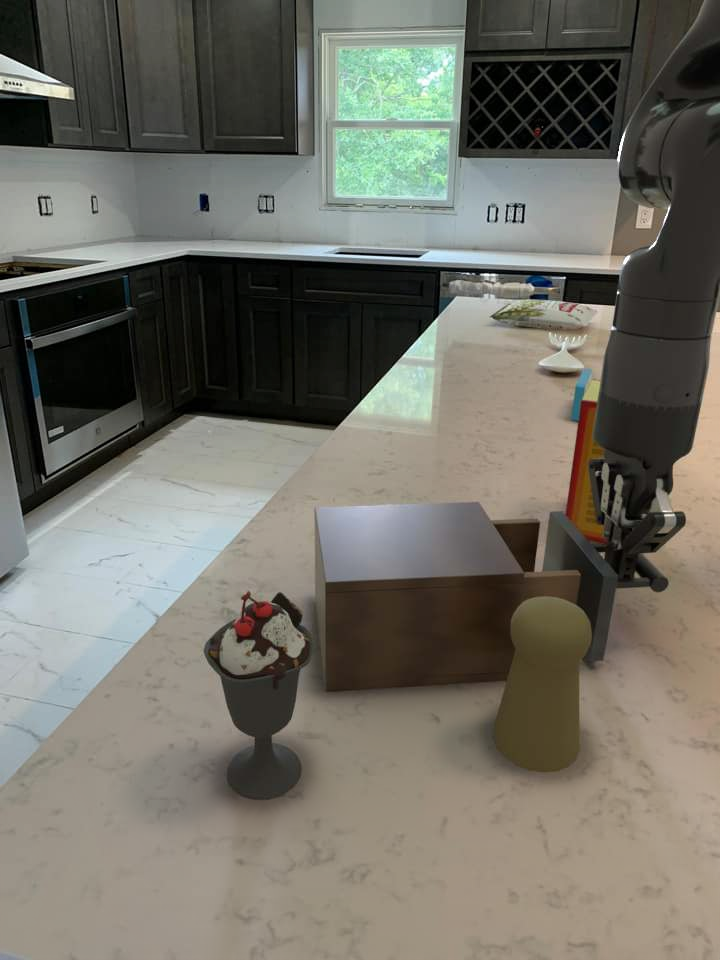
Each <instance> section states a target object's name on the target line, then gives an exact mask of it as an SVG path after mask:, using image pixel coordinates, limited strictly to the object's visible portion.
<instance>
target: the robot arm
mask: <svg viewBox="0 0 720 960" xmlns="http://www.w3.org/2000/svg"><path fill="white" fill-rule="evenodd" d="M617 175H618V176H617V177H618V181H619V185H620V187H621V189H622V191H623V193H624V194H625V196H626V197H627V198H628V199H629V200H631V201H632V202H633V203H635V204H636V205H639V206H641V207H645V208H648V209H656V210H667V213H666V216H665V218H664V221H663V223H662V226H661V229H660V230H659V233H658V235H657V238H656V240H655V242H653V244H650V245H646V246H642V247H639V248H636V249H634V250H633V251H631V252H630V253H628V255H627V256H626V257H625V259H624V261H623V263H622V266H621V270H620V273H619V279H618V284H617V291H616V297H615V304H614V311H613V317H612V323H611V325H612V326H611V329H610V333H609V338H608V340H607V345H606V347H605V351H604V355H603V360H602V367H601V373H600V374H601V375H600V379H599V380H600V387H599V393H598V400H597V407H596V414H595V420H594V427H593V434H592V435H593V439H594V441H595V443H596V444H597V445H598V446H599V447H601V448H602V449H604V457H603V458H599V459H590V460H589V462H588V469H589V476H590V483H591V490H592V497H593V504H594V510H595V517H596V522H597V524H598V525H604V529H603V536H604V539H605V541H607V545H606V551H605V552H604V557H603V558H604V560H605V561H606V562H607V563H608V564H609V565H610V566H611V568H612V569H613V570H614V571H615V572H616V573H617V575H618V579H627V578H635V574H636V572H635V570H636V564H637V559H638V554H639V553H642V554H655V553H657V552H658V551H659V550H661V549H662V548H663V546H665V545H666V544H667V543H668V542H669V541H670V540H671V539H673V537H674V536H676V534H678V533H679V532H680V531H681V530H682V529H683V528H684V527H685V526H686V524H687V516H686V514H685V512H684V511H682V510H680V511H679V510H678V511H677V510H676V511H675V510H673V506H672V504H671V500H670V497H669V496H670V495H671V493H672V491H673V489H674V473H673V472H674V465H675V464H676V462H678V461H679V460H680V459H682V458H684V457H686V456H688V455H689V454H690V452H691V451H692V449H693V446H694V440H695V437H696V432H697V427H698V423H699V417H700V413H701V408H702V404H703V398H704V393H705V388H706V384H707V383H706V382H707V378H708V374H709V369H710V359H711V358H710V357H711V343H712V342H711V341H712V334H713V331H714V326H715V320H716V316H717V311H718V305H719V302H720V0H703V2H702V5H701V7H700V10H699V12H698V15H697V17H696V19H695V21H694V23H693V24H692V26H691V27H690V28H689V30H688V31H687V33H686V34H685V35H684V37H683V38H682V39H681V41H680V42H679V43H678V45H676V47H675V48H674V50H672V52H671V54H670V56H669V57H668V58H667V60H666V61H665V63H664V65H663V66H662V67H661V68H660V71H658V74H657V75H656V76H655V77H654V79H653V81H652V82H651V84H650V85H649V87H648V88H647V89H646V91H645V92H644V94H643V96H642V98H641V99H640V101H639V102H638V104H637V106H636V107H635V109H634V111H633V113H632V115H631V116H630V118H629V120H628V122H627V125H626V127H625V129H624V131H623V135H622V138H621V141H620V145H619V151H618V156H617Z"/></svg>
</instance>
